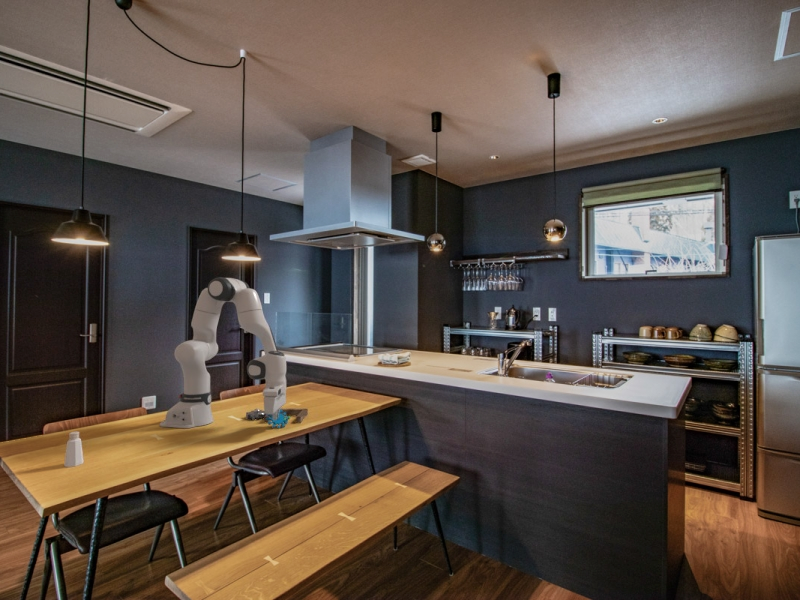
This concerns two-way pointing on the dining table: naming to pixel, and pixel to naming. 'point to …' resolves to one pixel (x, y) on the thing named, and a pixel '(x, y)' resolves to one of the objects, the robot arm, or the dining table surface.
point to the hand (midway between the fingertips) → (275, 419)
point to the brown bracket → (299, 412)
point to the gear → (279, 420)
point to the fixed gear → (255, 414)
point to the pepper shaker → (74, 451)
